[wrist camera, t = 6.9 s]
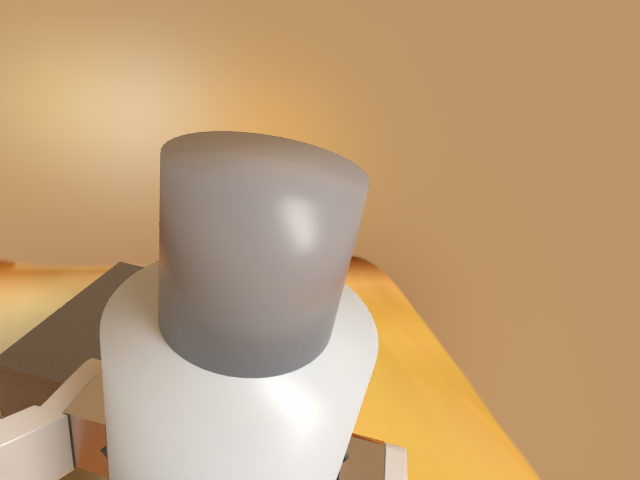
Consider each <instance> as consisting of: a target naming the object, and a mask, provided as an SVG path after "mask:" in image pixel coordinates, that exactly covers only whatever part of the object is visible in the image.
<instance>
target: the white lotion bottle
mask: <svg viewBox="0 0 640 480" xmlns="http://www.w3.org/2000/svg"><path fill="white" fill-rule="evenodd" d="M369 186H370V181H369V178H368V176H367V174H366V173H365V172H364V171H363V170H362V169H361V168H360V167H358V166H357V165H356V164H354V163H353V162H351V161H350V160H348V159H346V158H344V157H342V156H340V155H338V154H335V153H333V152H331V151H328V150H325V149H323V148H320V147H317V146H314V145H310V144H307V143H303V142H299V141H296V140H291V139H286V138H282V137H276V136H271V135H264V134H256V133H246V132H231V131H214V132H213V131H212V132H198V133H192V134H187V135H182V136H179V137H176V138H173V139H171V140H169V141H168V142H166V143H165V144H164V145H163V147H162V148H161V153H160V222H159V261H156V262H154V263H152V264H150V265H148V266H146V267H144V268H143V269H141V270H139V271H137V272H136V273H135V274H133V275H132V276H131V277H129V278H128V279H127V280H125V281H124V282H123V283H122V284H121V285H120V286H119V287H118V288H117V289H116V291H115V292H114V293H113V295H112V296H111V297H110V299H109V300H108V302H107V304H106V306H105V308H104V311H103V314H102V318H101V322H100V350H101V365H102V380H103V395H104V409H105V424H106V439H107V454H108V469H109V480H337V477H338V474H339V471H340V468H341V465H342V462H343V459H344V456H345V453H346V450H347V447H348V444H349V441H350V438H351V435H352V432H353V429H354V426H355V423H356V420H357V417H358V414H359V411H360V408H361V405H362V402H363V399H364V396H365V393H366V390H367V387H368V384H369V381H370V378H371V375H372V371H373V368H374V365H375V362H376V359H377V353H378V334H377V329H376V325H375V323H374V320H373V318H372V315H371V314H370V312H369V310H368V308H367V307H366V305H365V304H364V303H363V301H362V300H361V299H360V298H359V296H358V295H357V294H356V293H355V292H354V291H353V290H352V289H351V288H350V287H348V286H347V285H346V284H345V279H346V276H347V272H348V268H349V264H350V260H351V256H352V252H353V248H354V244H355V240H356V237H357V233H358V229H359V225H360V221H361V217H362V213H363V209H364V205H365V201H366V197H367V194H368V189H369Z"/></svg>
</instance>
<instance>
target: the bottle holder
mask: <svg viewBox="0 0 640 480" xmlns="http://www.w3.org/2000/svg"><path fill="white" fill-rule="evenodd" d="M143 268H144V267H140V266H136V265H132V264H127V263H123V262H119V263H118V264H116V265H115V266H114V267H113V268H111V269H110V270H109V271H107V272H106V273H105V274H104V275H102V276H101V277H100V278H98V279H97V280H96V281H94V282H93V283H92V284H91V285H89V286H88V287H87V288H85V289H84V290H83V291H82V292H80V293H79V294H78V295H76V296H75V297H74V298H73V299H71V300H70V301H69V302H67V303H66V304H65V305H64V306H62V307H61V308H60V309H58V310H57V311H56V312H54V313H53V314H52V315H51V316H49V317H48V318H47V319H45V320H44V321H43V322H42V323H40V324H39V325H38V326H36V327H35V328H34V329H33V330H31V331H30V332H29V333H27V334H26V335H25V336H24V337H22V338H21V339H20V340H18V341H17V342H16V343H15V344H13V345H12V346H11V347H9V348H8V349H7V350H5V351H4V352H3V353H2V354H0V406H1V410H2V414H3V418H5V417H7V416H10V415H12V414H14V413H17V412H19V411H22V410H24V409H26V408H29V407H31V406H34V405H36V406H41V405H42V404H43V403H44V402H45V401H46V400H47V399H48V398H49V397H50V396H51V395H52V394H53V393H54V392H55V391H56V390H57V389H58V388H59V387H60V386H61V385H62V384H63V383H64V382H65V381H66V380H67V379H68V378H69V377H70V376H71V375H72V374H73V373H74V372H75V371H76V370H77V369H78V368H79V367H80V366H81V365H82V364H83V363H84V362H86V361H87V360H89V359H91V358H95V359H98V360H101V350H100V322H101V318H102V314H103V311H104V308H105V306H106V304H107V302H108V300H109V299H110V297H111V296H112V295H113V293H114V292H115V291H116V289H117V288H118V287H119V286H120V285H121V284H122V283H123V282H124V281H125V280H127V279H128V278H129V277H131V276H132V275H133V274H135V273H136V272H137V271H139V270H141V269H143Z"/></svg>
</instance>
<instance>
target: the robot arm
mask: <svg viewBox="0 0 640 480" xmlns="http://www.w3.org/2000/svg"><path fill="white" fill-rule="evenodd" d="M74 467H75V468H78V469H82V470H86V471H89V472H93V473H96V474H100V475H104V476H107V477H109V469H108V454H107V439H106V424H105V409H104V395H103V380H102V365H101V360H98V359H95V358H91V359H89V360H87V361H86V362H84V363H83V364H82V365H81V366H80V367H79V368H78V369H77V370H76V371H75V372H74V373H73V374H72V375H71V376H70V377H69V378H68V379H67V380H66V381H65V382H64V383H63V384H62V385H61V386H60V387H59V388H58V389H57V390H56V391H55V392H54V393H53V394H52V395H51V396H50V397H49V398H48V399H47V400H46V401H45V402H44V403H43V404H42V405H41V406H36V405H34V406H31V407H29V408H26V409H24V410H22V411H19V412H17V413H14V414H12V415H10V416H7V417H5V418H2V419H0V480H59V479H61V478H62V477H64V476H65V475H67V474H68V473H70V472H71V471H73V470H74ZM337 480H407V451H406V449H405V448H403V447H400V446H396V445H393V444H389V443H386V442H385V443H384V441H380V440H377V439H373V438H369V437H366V436H362V435H358V434H355V433H352V435H351V438H350V441H349V444H348V447H347V450H346V453H345V456H344V459H343V462H342V465H341V468H340V471H339V474H338V477H337Z"/></svg>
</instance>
